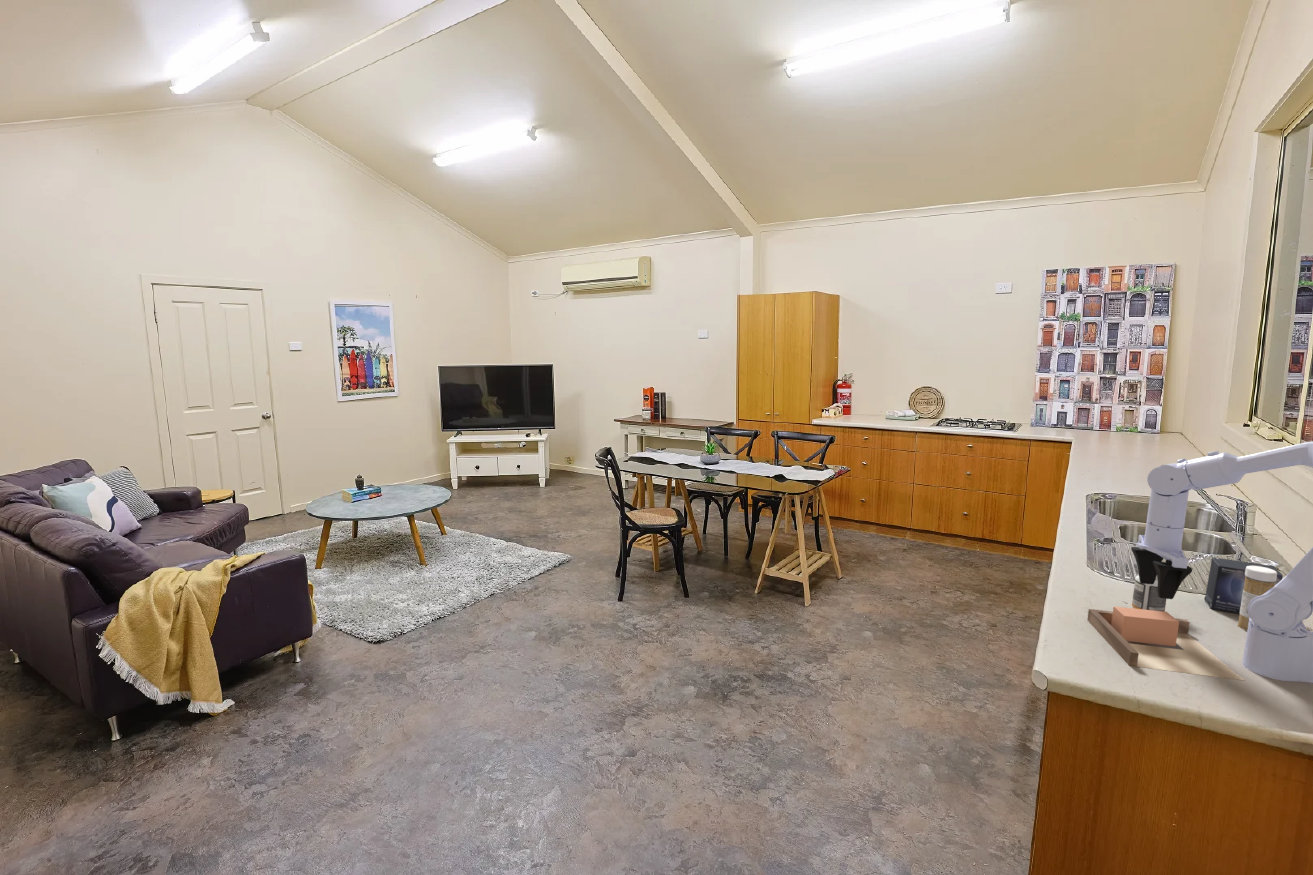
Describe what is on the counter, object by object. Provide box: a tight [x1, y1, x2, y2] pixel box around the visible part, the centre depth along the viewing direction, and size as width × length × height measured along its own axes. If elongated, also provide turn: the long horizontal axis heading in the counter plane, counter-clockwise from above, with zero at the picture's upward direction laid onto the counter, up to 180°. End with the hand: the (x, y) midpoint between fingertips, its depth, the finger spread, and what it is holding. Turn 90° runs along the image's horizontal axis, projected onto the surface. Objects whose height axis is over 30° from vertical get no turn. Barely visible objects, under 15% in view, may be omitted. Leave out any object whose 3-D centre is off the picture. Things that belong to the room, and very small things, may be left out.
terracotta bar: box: [1111, 606, 1179, 646], centre depth 120 cm, size 9×4×5 cm, turn 75°
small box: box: [1204, 557, 1284, 615], centre depth 136 cm, size 11×6×10 cm, turn 60°
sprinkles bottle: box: [1236, 566, 1277, 633], centre depth 125 cm, size 5×5×14 cm
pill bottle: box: [1131, 574, 1167, 612], centre depth 134 cm, size 6×6×10 cm
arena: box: [1087, 608, 1245, 681], centre depth 117 cm, size 17×19×4 cm
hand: (1155, 590), depth 123 cm, fingers open, 7 cm apart
